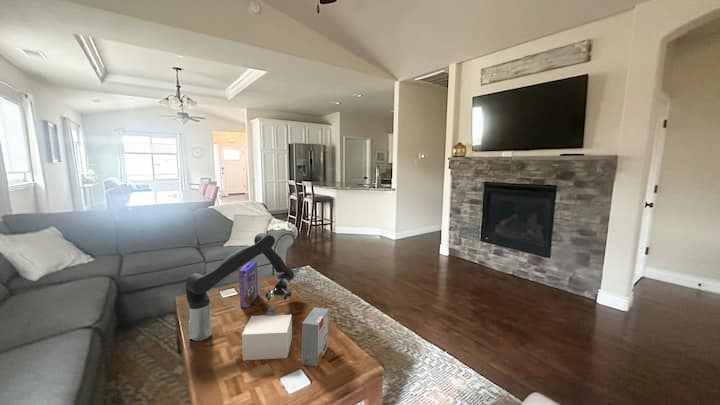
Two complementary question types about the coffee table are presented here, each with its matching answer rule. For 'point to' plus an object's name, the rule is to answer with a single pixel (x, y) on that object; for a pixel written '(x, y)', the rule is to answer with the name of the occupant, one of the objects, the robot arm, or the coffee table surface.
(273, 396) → the coffee table surface
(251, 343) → the carton
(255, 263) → the cereal box
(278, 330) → the flap
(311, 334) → the hard drive box
